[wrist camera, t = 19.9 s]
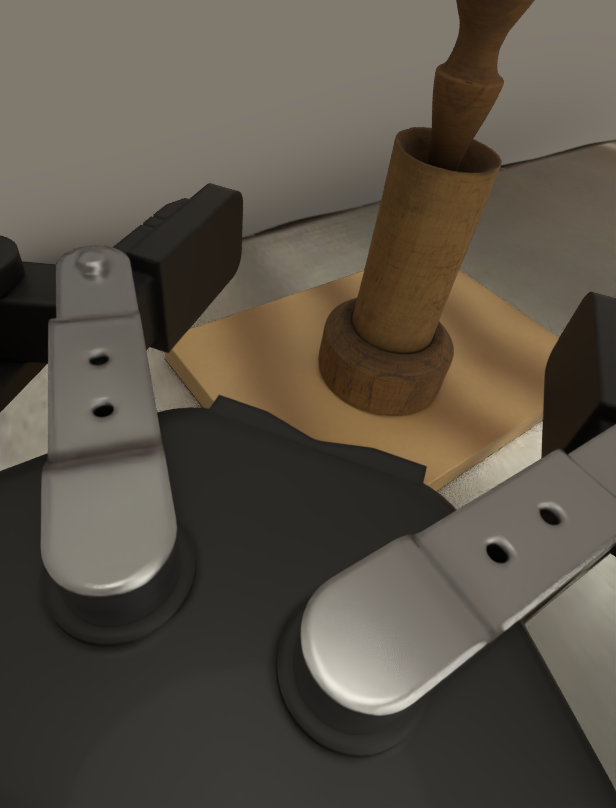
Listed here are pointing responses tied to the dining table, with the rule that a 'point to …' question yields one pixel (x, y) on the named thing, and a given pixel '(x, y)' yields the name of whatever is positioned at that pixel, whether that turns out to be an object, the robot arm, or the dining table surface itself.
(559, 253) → the dining table surface
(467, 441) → the cutting board
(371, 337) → the mortar and pestle
